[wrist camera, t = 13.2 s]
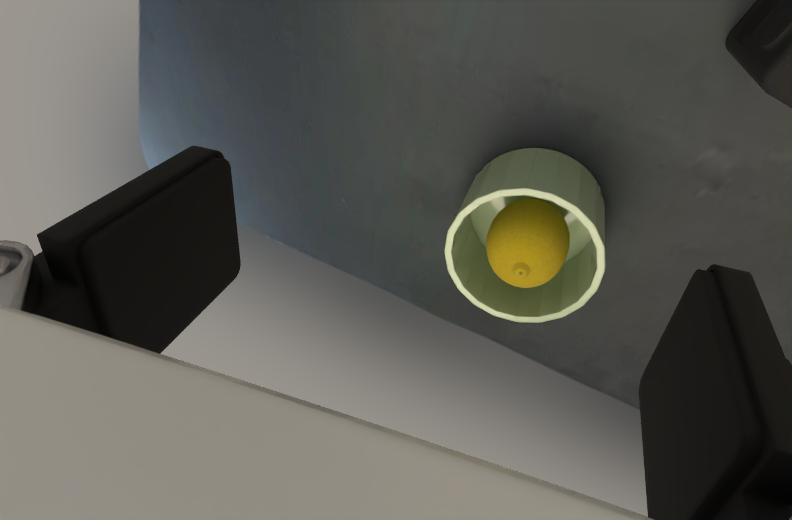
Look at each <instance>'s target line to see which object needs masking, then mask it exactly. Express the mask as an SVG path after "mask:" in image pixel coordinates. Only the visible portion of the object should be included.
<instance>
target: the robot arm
mask: <svg viewBox="0 0 792 520" xmlns="http://www.w3.org/2000/svg"><path fill="white" fill-rule="evenodd" d="M37 237H38V239H39V242H40V245H41V248H42V251H43V252H41V253H39V254H38V255H36V256H34V254H33V252H32V250H31V249H30V248H29V247H28V246H27V245H24V244H22V243H19V242H14V241H0V520H792V365H791V363H790V362H789V360H787V359H786V358H785V356H784V353H783V351H782V348H781V346H780V343H779V341H778V339H777V336H776V334H775V331H774V329H773V326H772V324H771V321H770V319H769V316H768V314H767V312H766V309H765V307H764V304H763V302H762V299H761V297H760V294H759V292H758V289H757V287H756V284H755V282H754V280H753V277H752V275H751V274H750V273H749V272H745V271H741V270H737V269H732V268H728V267H723V266H719V265H715V264H713V265H711V266H710V267H709V268H708V269H707V271H705V270H700V269H698V270H696V272H695V273H694V274H693V276H692V278H691V280H690V282H689V284H688V286H687V288H686V290H685V292H684V294H683V296H682V298H681V300H680V302H679V304H678V305H677V307H676V309H675V311H674V313H673V315H672V317H671V319H670V321H669V323H668V325H667V327H666V329H665V331H664V333H663V335H662V337H661V339H660V341H659V343H658V345H657V347H656V349H655V351H654V353H653V355H652V357H651V359H650V361H649V363H648V365H647V367H646V369H645V371H644V373H643V375H642V378H641V381H640V387H639V400H640V413H641V427H642V441H643V454H644V467H645V481H646V495H647V508H648V517H646V516H643V515H640V514H637V513H635V512H632V511H629V510H627V509H624V508H621V507H618V506H615V505H612V504H610V503H607V502H604V501H601V500H598V499H595V498H592V497H589V496H586V495H584V494H581V493H578V492H575V491H572V490H569V489H566V488H563V487H561V486H558V485H555V484H552V483H549V482H546V481H543V480H540V479H538V478H535V477H531V476H529V475H525V474H523V473H519V472H517V471H514V470H511V469H508V468H504V467H502V466H499V465H496V464H493V463H490V462H487V461H484V460H481V459H478V458H475V457H472V456H469V455H465V454H463V453H460V452H457V451H454V450H451V449H448V448H445V447H442V446H439V445H436V444H433V443H430V442H427V441H424V440H421V439H418V438H415V437H412V436H409V435H406V434H403V433H400V432H397V431H394V430H391V429H388V428H385V427H382V426H379V425H376V424H373V423H370V422H367V421H364V420H361V419H358V418H355V417H352V416H349V415H346V414H343V413H340V412H337V411H333V410H331V409H327V408H325V407H321V406H318V405H315V404H312V403H309V402H306V401H303V400H300V399H297V398H294V397H291V396H288V395H285V394H282V393H279V392H276V391H273V390H269V389H267V388H264V387H260V386H257V385H254V384H251V383H248V382H245V381H242V380H239V379H236V378H233V377H230V376H226V375H224V374H221V373H217V372H215V371H212V370H208V369H205V368H202V367H199V366H196V365H193V364H190V363H187V362H184V361H180V360H177V359H174V358H171V357H168V356H165V355H162V354H160V353H161V352H162V351H163V350H164V349H165V348H166V347H167V346H168V345H169V344H170V343H171V342H172V341H173V340H174V339H175V338H176V337H177V336H178V335H179V334H180V333H181V332H182V331H183V330H184V329H185V328H186V327H187V326H188V325H189V324H190V323H191V322H192V321H193V320H194V319H195V318H196V317H197V316H198V315H199V314H200V313H201V312H202V311H203V310H204V309H205V308H206V307H207V306H208V305H209V304H210V303H211V302H212V301H213V300H214V299H215V298H216V297H217V296H218V295H219V294H220V293H221V292H222V291H223V290H224V289H225V288H226V287H227V286H228V285H229V284H230V283H231V282H232V281H233V280H234V279H235V278H236V277H237V275H238V273H239V270H240V253H239V243H238V234H237V224H236V215H235V205H234V195H233V186H232V176H231V167H230V164H229V162H228V161H227V160H225V159H224V156H223V154H222V153H221V152H219V151H216V150H211V149H207V148H203V147H198V146H191V147H189V148H187V149H186V150H184V151H182V152H180V153H179V154H177V155H175V156H173V157H172V158H170V159H168V160H166V161H165V162H163V163H161V164H159V165H158V166H156V167H154V168H152V169H151V170H149V171H147V172H145V173H144V174H142V175H141V176H138V177H137V178H135V179H133V180H132V181H130V182H128V183H126V184H125V185H123V186H121V187H119V188H118V189H116V190H114V191H112V192H111V193H109V194H107V195H105V196H104V197H102V198H100V199H98V200H97V201H95V202H93V203H92V204H90V205H88V206H86V207H84V208H83V209H81V210H79V211H78V212H76V213H74V214H72V215H70V216H69V217H67V218H65V219H63V220H62V221H60V222H58V223H56V224H55V225H53V226H51V227H50V228H48V229H46V230H44V231H43V232H41V233H39V234H37Z"/></svg>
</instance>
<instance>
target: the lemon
mask: <svg viewBox="0 0 792 520" xmlns="http://www.w3.org/2000/svg"><path fill="white" fill-rule="evenodd" d="M569 247H570V234H569V230H568V227H567V223H566V221H565V219H564V218H563V216H562V214H561V213H560V212H559V211H558V210H557V209H556V208H555V207H554V206H553V205H551V204H549V203H547V202H545V201H542V200H538V199H528V198H527V199H521V200H517V201H515V202H512V203H510V204H508V205H507V206H506V207H504V208H503V209H502V210H501V211H500V212H499V213H498V214H497V215H496V217H495V218H494V219H493V221H492V223H491V225H490V228H489V231H488V234H487V243H486V251H487V256H488V260H489V263H490V265H491V267H492V269H493V271H494V272H495V273H496V274H497V275H498V277H499V278H501V279H502V280H503V281H505V282H506V283H508V284H511V285H513V286H516V287H521V288H531V287H536V286H540V285H542V284H544V283H546V282H548V281H549V280H550V279H552V278H553V277H554V276H555V275H556V274H557V273H558V272H559V270H560V269H561V267H562V266H563V264H564V263H565V260H566V257H567V254H568V251H569Z"/></svg>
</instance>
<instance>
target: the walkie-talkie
mask: <svg viewBox="0 0 792 520" xmlns="http://www.w3.org/2000/svg"><path fill="white" fill-rule="evenodd" d="M725 45H726V49H727V50H728V51H729V52H730V53H731V54H732V56H733V57H734V58H735V59H736V60H737V61H738V62H739V63H740V64H741V66H742V67H743V68H744V69H745V70H746V71H747V72H748V73H749V75H750V76H751V77H752V78H753V79H754V80H755V81H756V82H757V83H758V85H759V86H760V87H761V88H762V89H763V90H764V91H765V92H766V93H767V94H769V95H771V96H772V97H774V98H776V99H777V100H779V101H781V102H783V103H784V104H786V105H788V106H789V107H791V108H792V0H757V1H756V3H755V4H754V5H753V6H752V7H751V9H750V10H749V11H748V12H747V13H746V14H745V16H744V17H743V18H742V19H741V20H740V22H739V23H738V24H737V25H736V26H735V28H734V29H733V30H732V31H731V32H730V34H729V35H728V37H727V39H726V44H725Z"/></svg>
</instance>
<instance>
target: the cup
mask: <svg viewBox="0 0 792 520" xmlns="http://www.w3.org/2000/svg"><path fill="white" fill-rule="evenodd" d="M527 198H528V199H538V200H542V201H545V202H547V203H549V204H551V205H553V206H554V207H555V208H556V209H557V210H558V211H559V212H560V213H561V214H562V216H563V218H564V219H565V221H566V223H567V227H568V230H569V234H570V247H569V251H568V254H567V257H566V260H565V263H564V264H563V266H562V267H561V269H560V270H559V272H558V273H557V274H556V275H555V276H554V277H553V278H552V279H550V280H549V281H548V282H546V283H544V284H542V285H540V286H536V287H531V288H521V287H516V286H513V285H511V284H508V283H506V282H505V281H503V280H502V279H501V278H499V277H498V275H497V274H496V273H495V272H494V271H493V269H492V267H491V265H490V263H489V260H488V256H487V251H486V243H487V234H488V231H489V228H490V225H491V223H492V221H493V219H494V218H495V217H496V215H497V214H498V213H499V212H500V211H501V210H502V209H503V208H504V207H506V206H507V205H508V204H510V203H512V202H515V201H517V200H521V199H527ZM444 251H445V252H444V253H445V258H446V263H447V268H448V271H449V274H450V276H451V277H452V279H453V281H454V282H455V284H456V286H457V288H458V289H459V291H460V292H462V293H463V294H464V295H465V296H466V297H467V298H468V299H469V300H470V301H471V302H472V303H473V304H475V305H476V306H477V307H479V308H481V309H483V310H485V311H486V312H488V313H490V314H492V315H495V316H497V317H500V318H504V319H508V320H512V321H515V322H538V323H540V322H545V321H549V320H553V319H557V318H562V317H564V316H566V315H568V314H570V313H571V312H573V311H575V310H577V309H578V308H580V307H582V306H583V305H584V304H585V303H586V302H587V301H588V300H589V299H590V298H591V296H592V295H593V294H594V293H595V292H596V291H597V289H598V287H599V285H600V282H601V280H602V277H603V274H604V272H605V203H604V199H603V194H602V192H601V189H600V187H599V185H598V183H597V181H596V179H595V178H594V177H593V175H592V174H591V173H590V172H589V171H588V170H587V169H586V168H585V167H584V166H583V165H582V164H580V163H579V162H578V161H576V160H575V159H573V158H571V157H570V156H568V155H565V154H563V153H560V152H557V151H554V150H550V149H543V148H525V149H518V150H514V151H510V152H508V153H505V154H502V155H500V156H498V157H497V158H495V159H493V160H492V161H490V162H489V163H488V164H486V165H485V166H484V167H483V168H482V169H481V170H480V171H479V173H478V174H477V175H476V177H475V178H474V180H473V182H472V183H471V185H470V187H469V189H468V190H467V192H466V194H465V197H464V199H463V201H462V203H461V205H460V207H459V209H458V211H457V213H456V215H455V217H454V219H453V221H452V223H451V225H450V227H449V230H448V232H447V238H446V244H445V250H444Z"/></svg>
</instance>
